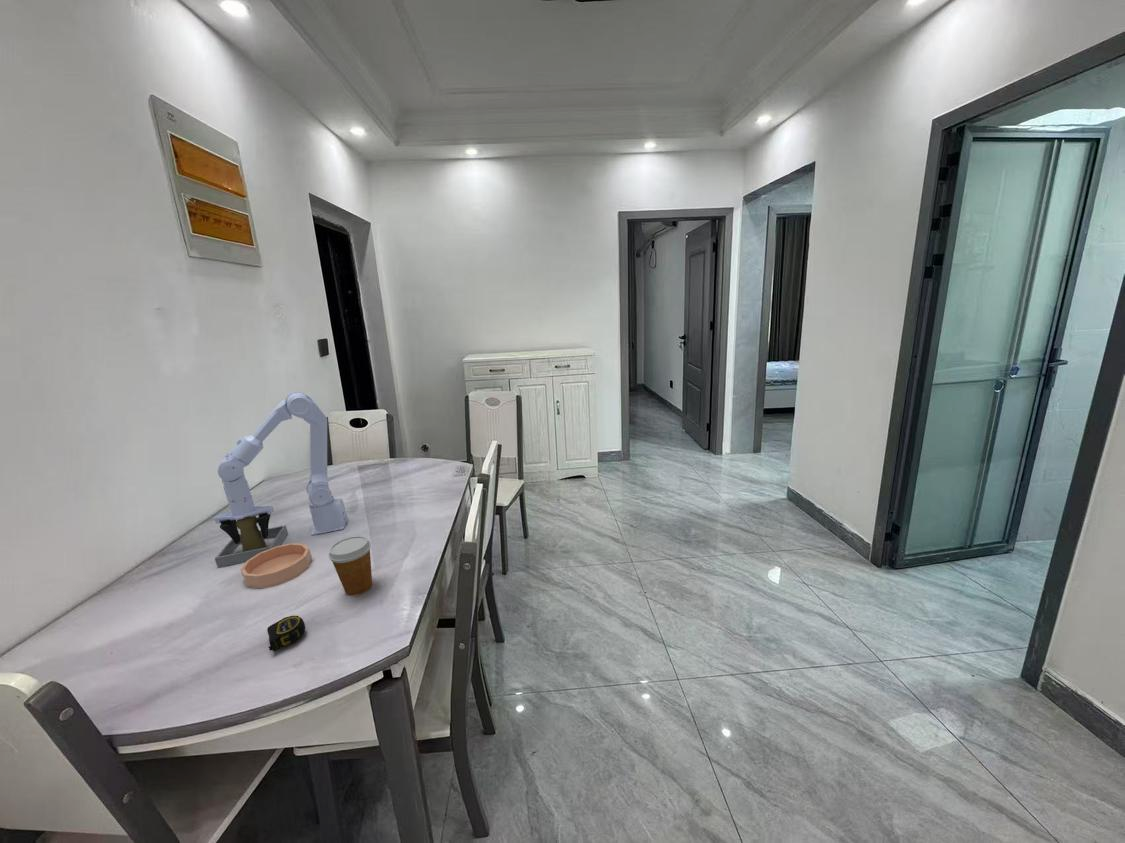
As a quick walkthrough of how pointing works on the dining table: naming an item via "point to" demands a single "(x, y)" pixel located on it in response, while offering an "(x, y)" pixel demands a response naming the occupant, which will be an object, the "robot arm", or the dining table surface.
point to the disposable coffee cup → (352, 564)
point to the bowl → (276, 565)
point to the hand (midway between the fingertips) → (252, 539)
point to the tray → (228, 558)
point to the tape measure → (285, 632)
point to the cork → (250, 534)
